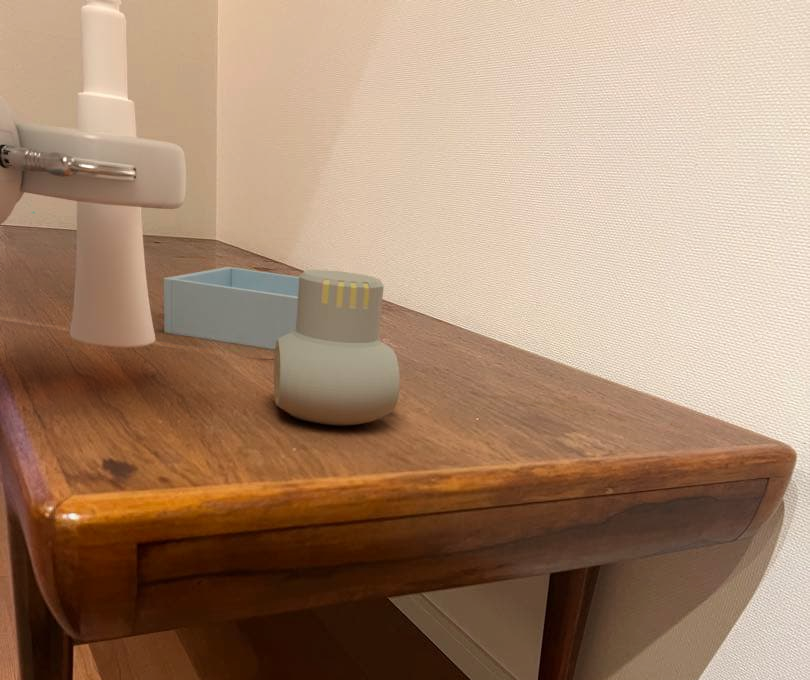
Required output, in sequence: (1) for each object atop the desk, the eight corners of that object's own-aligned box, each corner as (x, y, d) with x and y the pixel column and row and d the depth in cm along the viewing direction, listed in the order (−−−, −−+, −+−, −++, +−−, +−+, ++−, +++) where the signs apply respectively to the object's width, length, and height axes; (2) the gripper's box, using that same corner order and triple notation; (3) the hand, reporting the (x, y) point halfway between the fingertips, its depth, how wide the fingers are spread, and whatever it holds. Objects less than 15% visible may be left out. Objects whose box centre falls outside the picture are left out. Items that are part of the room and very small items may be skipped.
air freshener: (399, 441, 54) (417, 293, 50) (279, 436, 52) (287, 280, 48) (373, 399, 64) (386, 271, 60) (271, 393, 62) (277, 261, 58)
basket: (164, 337, 76) (163, 278, 74) (226, 317, 90) (227, 266, 88) (317, 361, 74) (321, 301, 72) (356, 337, 88) (361, 285, 86)
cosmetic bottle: (80, 348, 55) (61, -26, 46) (62, 330, 60) (42, -14, 50) (165, 348, 58) (164, -2, 49) (142, 331, 63) (137, 8, 54)
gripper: (82, 98, 38) (244, 130, 50) (-193, 67, 45) (7, 102, 57) (88, 234, 41) (241, 234, 53) (-173, 186, 47) (15, 196, 59)
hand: (118, 165), depth 55 cm, fingers closed on cosmetic bottle, 4 cm apart
